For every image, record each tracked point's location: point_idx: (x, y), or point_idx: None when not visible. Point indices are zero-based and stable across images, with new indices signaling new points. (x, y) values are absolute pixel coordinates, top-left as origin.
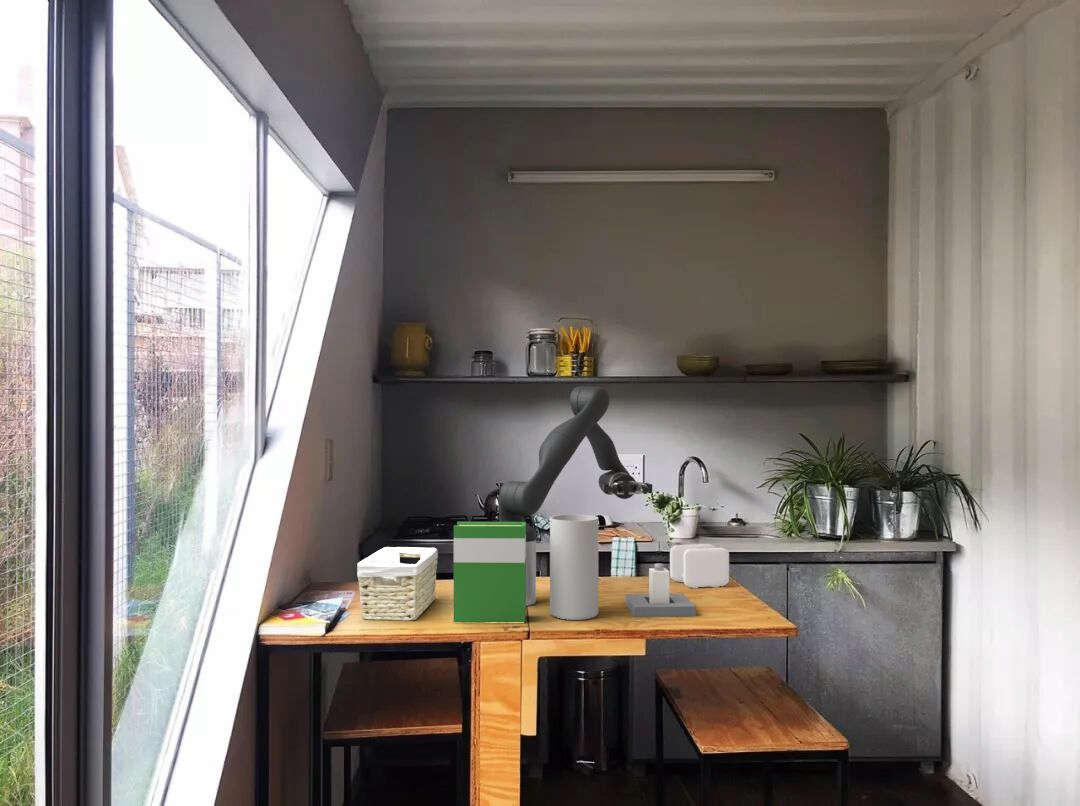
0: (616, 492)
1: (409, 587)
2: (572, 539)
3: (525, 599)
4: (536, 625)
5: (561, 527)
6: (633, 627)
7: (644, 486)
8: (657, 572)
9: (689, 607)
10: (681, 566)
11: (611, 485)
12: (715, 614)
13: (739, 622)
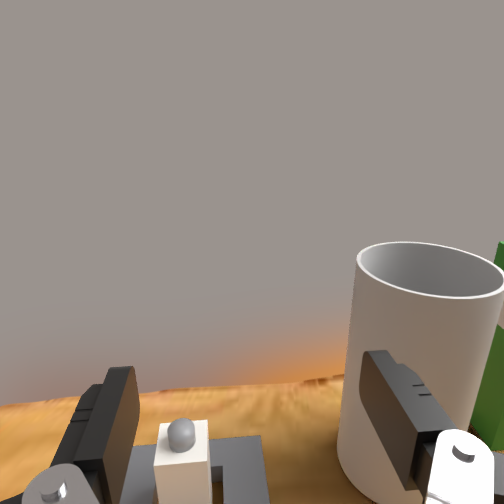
0: (364, 381)
1: None
2: (399, 280)
3: (488, 407)
4: None
5: (432, 259)
6: (263, 393)
7: (129, 368)
8: (193, 422)
9: (135, 447)
10: None
11: (463, 434)
12: None
13: (59, 427)
